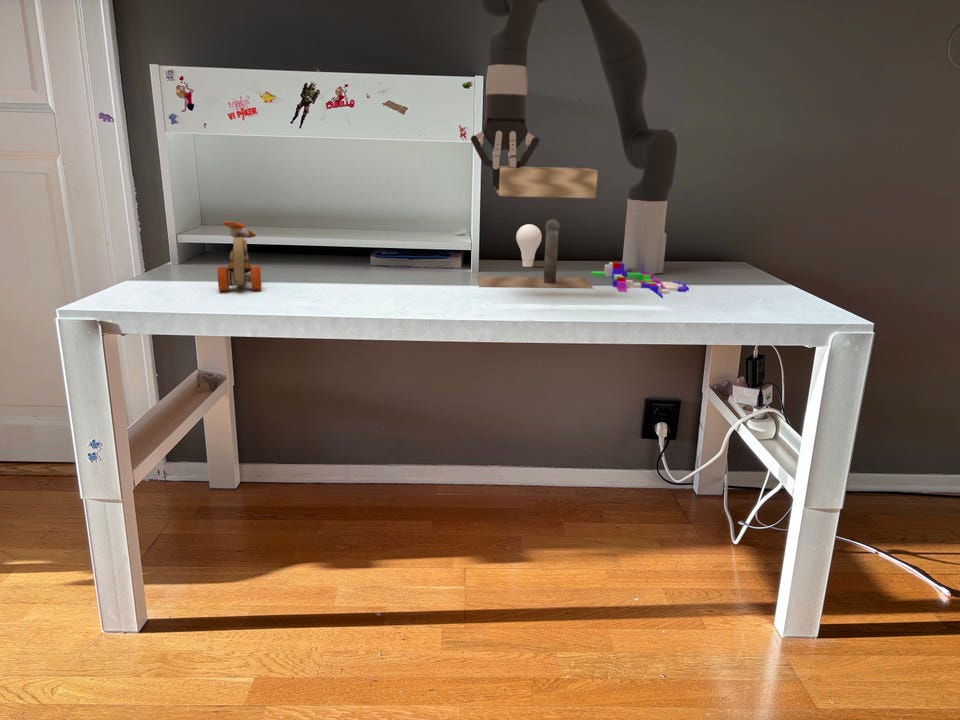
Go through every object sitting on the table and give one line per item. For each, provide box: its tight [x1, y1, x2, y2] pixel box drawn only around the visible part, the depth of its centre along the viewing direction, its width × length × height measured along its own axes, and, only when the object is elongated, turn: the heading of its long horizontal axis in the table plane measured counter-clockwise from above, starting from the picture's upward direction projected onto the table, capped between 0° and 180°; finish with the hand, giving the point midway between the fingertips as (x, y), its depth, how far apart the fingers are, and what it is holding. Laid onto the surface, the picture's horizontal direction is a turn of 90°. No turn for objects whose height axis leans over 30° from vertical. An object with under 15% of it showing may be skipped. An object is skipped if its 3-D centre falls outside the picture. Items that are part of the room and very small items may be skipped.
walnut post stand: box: [476, 219, 595, 290], centre depth 150 cm, size 24×11×14 cm, turn 93°
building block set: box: [590, 261, 690, 299], centre depth 156 cm, size 25×20×4 cm
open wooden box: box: [496, 165, 599, 199], centre depth 134 cm, size 18×9×5 cm, turn 93°
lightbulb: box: [515, 223, 543, 268], centre depth 169 cm, size 6×6×11 cm
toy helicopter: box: [217, 221, 262, 292], centre depth 147 cm, size 8×21×14 cm, turn 16°
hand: (503, 189), depth 134 cm, fingers closed on open wooden box
